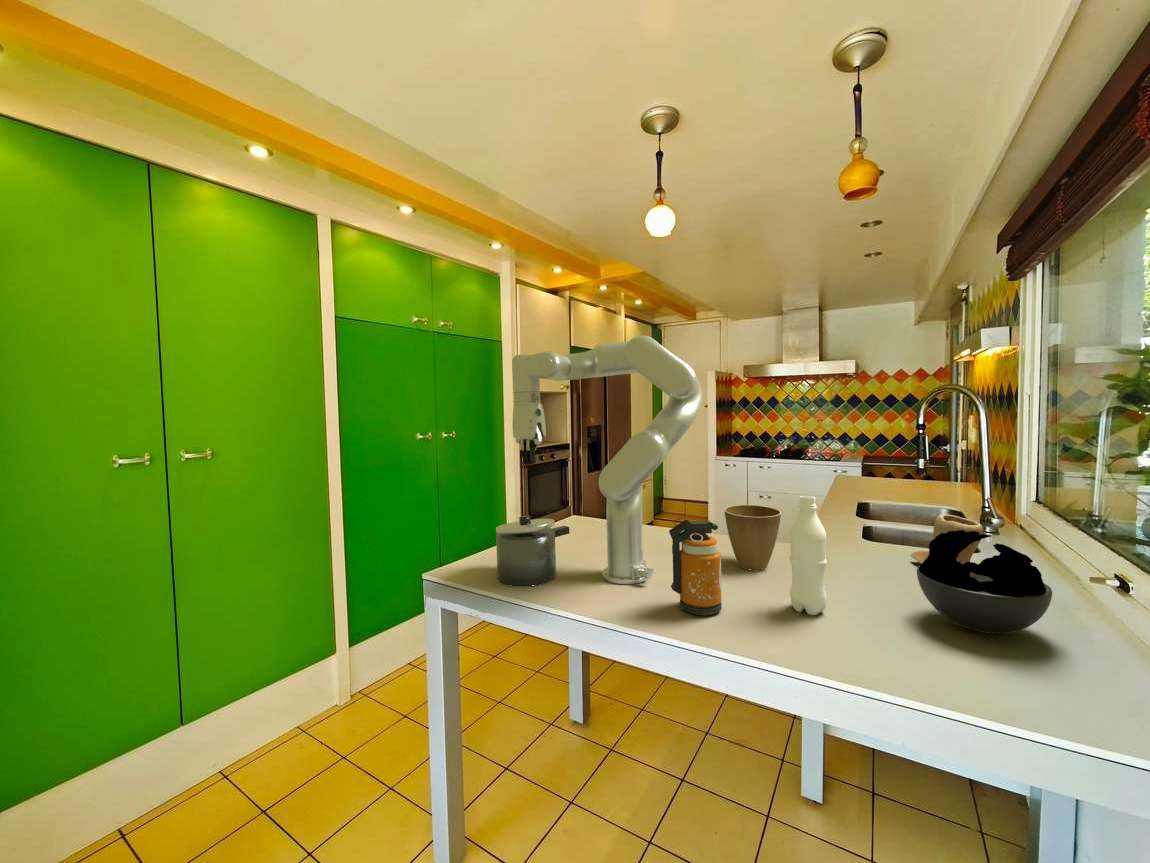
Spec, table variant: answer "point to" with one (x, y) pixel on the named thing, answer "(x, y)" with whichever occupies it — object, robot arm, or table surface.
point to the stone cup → (953, 524)
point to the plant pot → (752, 533)
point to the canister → (696, 567)
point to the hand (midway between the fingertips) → (529, 464)
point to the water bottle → (808, 559)
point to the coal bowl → (983, 585)
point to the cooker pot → (528, 556)
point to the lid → (525, 525)
